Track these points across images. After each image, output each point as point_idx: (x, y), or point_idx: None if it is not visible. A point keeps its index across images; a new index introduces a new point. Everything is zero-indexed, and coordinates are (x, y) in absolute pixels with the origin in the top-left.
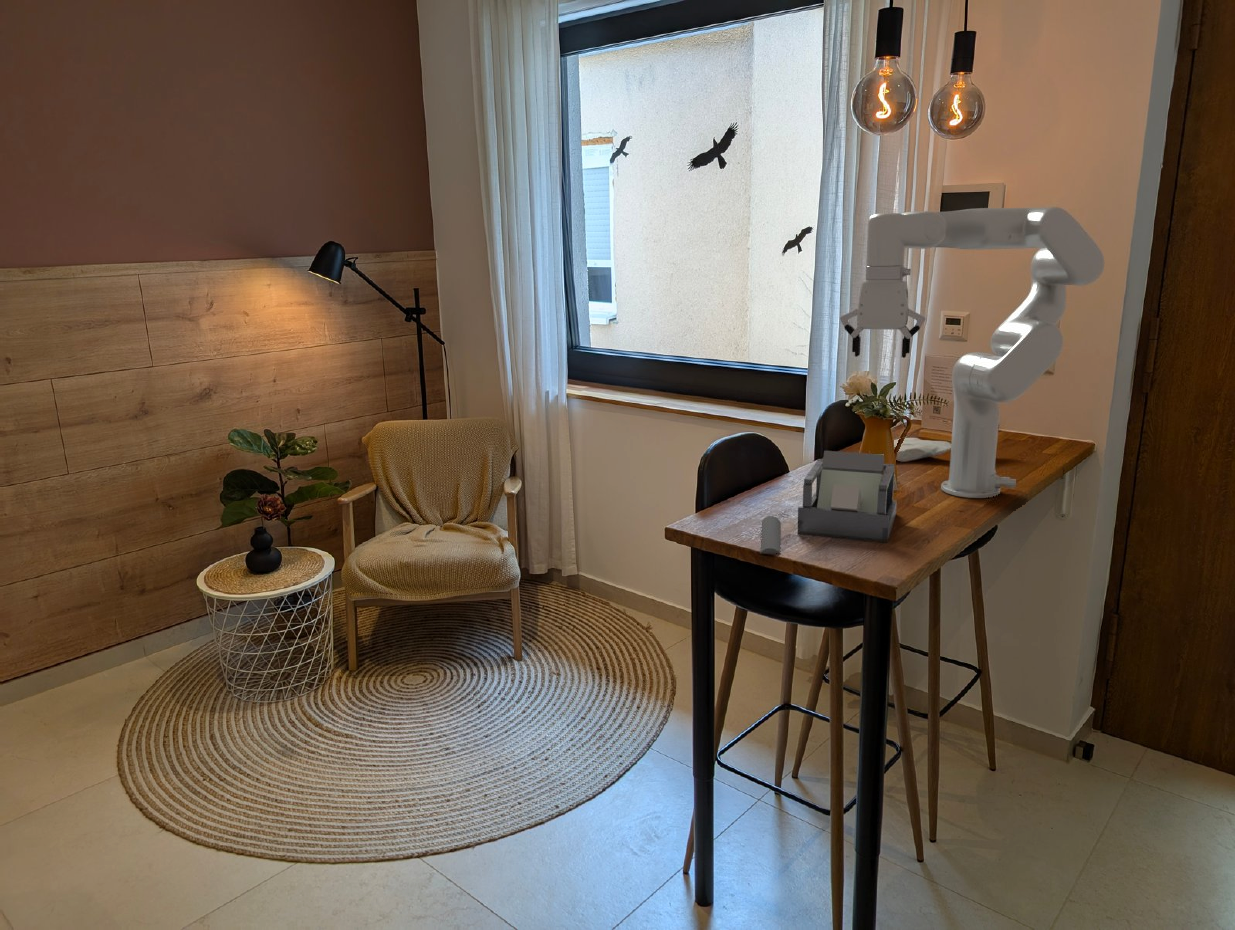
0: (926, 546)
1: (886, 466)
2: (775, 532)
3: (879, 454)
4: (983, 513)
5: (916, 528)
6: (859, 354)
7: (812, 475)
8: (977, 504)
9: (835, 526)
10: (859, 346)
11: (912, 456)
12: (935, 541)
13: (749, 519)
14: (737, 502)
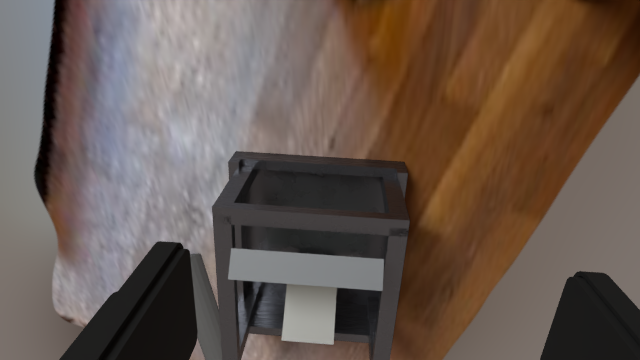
0: (445, 312)
1: (388, 243)
2: (210, 324)
3: (371, 289)
4: (594, 115)
5: (437, 236)
6: (190, 271)
7: (232, 337)
8: (602, 45)
9: None
10: (163, 345)
11: None
12: (463, 290)
13: (144, 249)
14: (82, 157)
